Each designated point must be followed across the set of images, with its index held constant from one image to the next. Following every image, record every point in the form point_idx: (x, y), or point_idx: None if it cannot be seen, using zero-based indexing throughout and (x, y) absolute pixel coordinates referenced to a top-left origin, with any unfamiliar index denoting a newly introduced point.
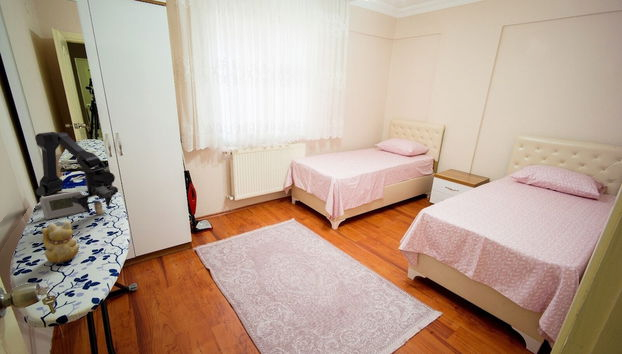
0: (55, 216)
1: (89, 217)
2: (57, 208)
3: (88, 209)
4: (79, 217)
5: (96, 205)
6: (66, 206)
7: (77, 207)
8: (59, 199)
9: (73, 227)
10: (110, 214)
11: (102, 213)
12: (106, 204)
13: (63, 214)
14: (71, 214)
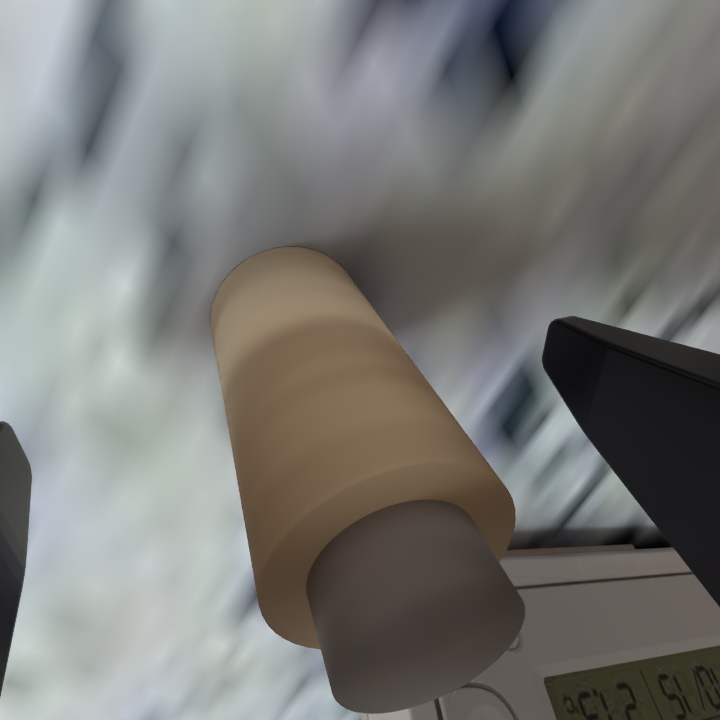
0: (665, 557)
1: (491, 295)
2: (693, 675)
3: (693, 360)
4: (544, 408)
5: (477, 449)
6: (618, 695)
7: None
8: None
9: None
10: (106, 37)
11: (255, 264)
12: (22, 531)
13: (608, 564)
14: (514, 552)
